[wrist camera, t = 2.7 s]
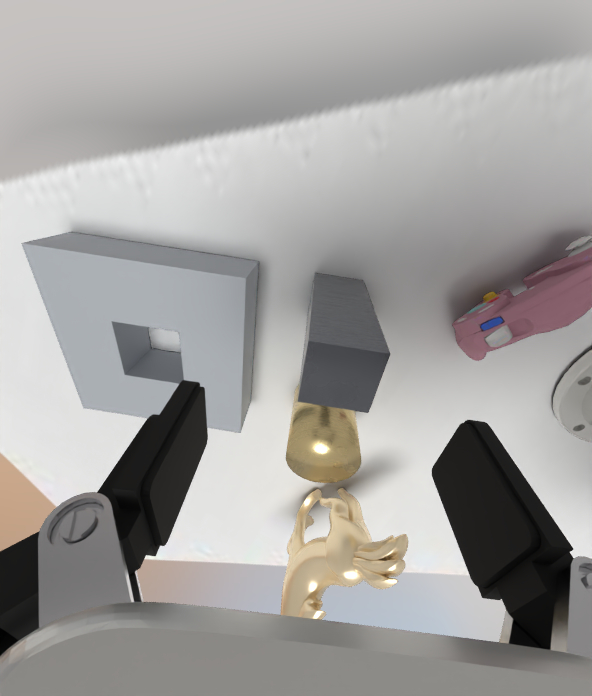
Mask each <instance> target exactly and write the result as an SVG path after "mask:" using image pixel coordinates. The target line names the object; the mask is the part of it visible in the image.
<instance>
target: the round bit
mask: <svg viewBox="0 0 592 696" xmlns="http://www.w3.org/2000/svg"><path fill="white" fill-rule="evenodd" d="M299 385H300V384H299ZM299 385H298V386H297V388H296V390H295V395H294V402H293V409H292V416H291V423H290V431H289V438H288V445H287V452H286V461H287V464H288V466H289V467H290V469H291V470H292V471H293V472H294V473H296V474H297V475H298V476H300V477H302V478H304V479H307V480H310V481H314V482H320V483H332V482H338V481H342V480H345V479H347V478H349V477H351V476H352V475H354V474H355V473H356V472H357V470H358V469H359V467H360V465H361V454H360V446H359V438H358V431H357V423H356V415H355V411H353V410H347V409H340V408H334V407H328V406H321V405H315V404H309V403H302V402H298V393H299Z"/></svg>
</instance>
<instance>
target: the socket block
mask: <svg viewBox="0 0 592 696" xmlns="http://www.w3.org/2000/svg"><path fill="white" fill-rule="evenodd" d="M22 246H23V249H24V251H25V254H26V257H27V259H28V262H29V265H30V267H31V270H32V273H33V275H34V278H35V281H36V283H37V286H38V289H39V291H40V294H41V297H42V299H43V302H44V304H45V307H46V310H47V312H48V315H49V318H50V320H51V323H52V326H53V328H54V331H55V334H56V336H57V339H58V342H59V344H60V347H61V350H62V352H63V355H64V357H65V360H66V363H67V365H68V368H69V371H70V373H71V376H72V379H73V381H74V384H75V387H76V389H77V392H78V395H79V397H80V400H81V403H82V405H83V408H87V409H93V410H100V411H106V412H112V413H119V414H125V415H131V416H137V417H144V418H149V417H150V416H151V415H152V414H158V415H160V413H161V412H162V410H163V408H164V407H165V405H166V404H167V402H168V401H169V399H170V398H171V396H172V394H173V393H174V391H175V390H176V388H177V387H178V385H179V384H180V382H181V381H182V380H187V381H194V382H199V383H200V387H204V388H205V400H206V417H207V428H212V429H219V430H225V431H231V432H237V433H241V430H242V427H243V423H244V420H245V417H246V414H247V411H248V408H249V405H250V402H251V387H252V370H253V353H254V336H255V319H256V302H257V285H258V268H259V261H254V260H247V259H241V258H235V257H228V256H222V255H215V254H209V253H203V252H196V251H190V250H183V249H177V248H171V247H164V246H158V245H151V244H145V243H139V242H132V241H126V240H119V239H113V238H107V237H100V236H94V235H87V234H81V233H75V232H69V233H64V234H60V235H56V236H51V237H47V238H42V239H38V240H33V241H29V242H25V243H22ZM148 327H151V328H157V329H164V330H170V331H176V332H179V338H180V347H181V353H177V352H170V351H164V350H158V349H151V344H150V338H149V333H148Z"/></svg>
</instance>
